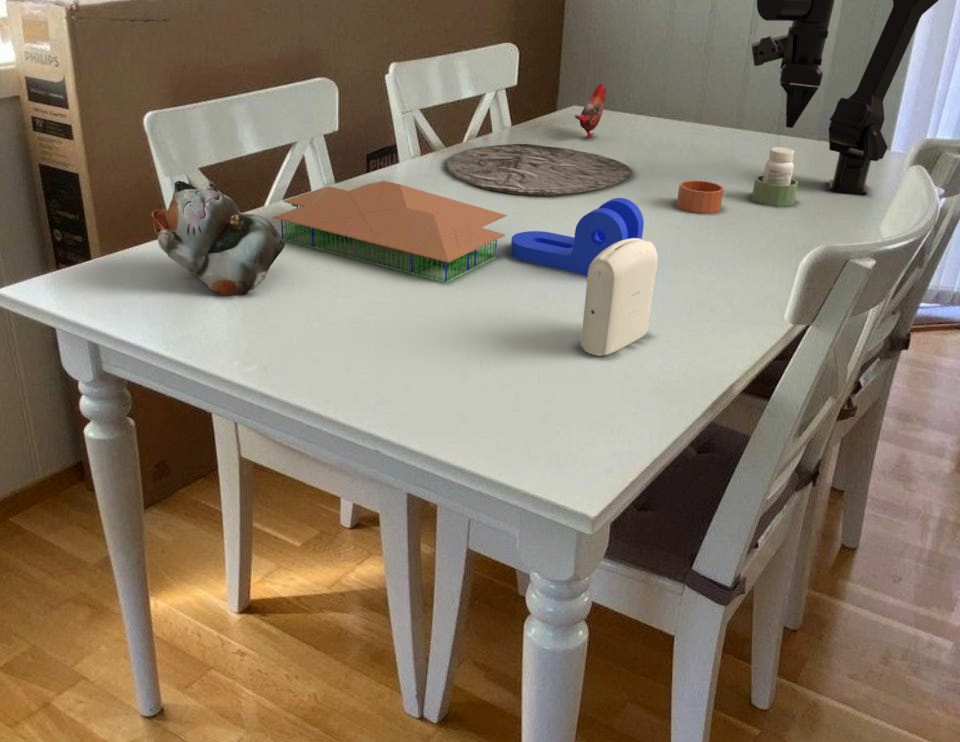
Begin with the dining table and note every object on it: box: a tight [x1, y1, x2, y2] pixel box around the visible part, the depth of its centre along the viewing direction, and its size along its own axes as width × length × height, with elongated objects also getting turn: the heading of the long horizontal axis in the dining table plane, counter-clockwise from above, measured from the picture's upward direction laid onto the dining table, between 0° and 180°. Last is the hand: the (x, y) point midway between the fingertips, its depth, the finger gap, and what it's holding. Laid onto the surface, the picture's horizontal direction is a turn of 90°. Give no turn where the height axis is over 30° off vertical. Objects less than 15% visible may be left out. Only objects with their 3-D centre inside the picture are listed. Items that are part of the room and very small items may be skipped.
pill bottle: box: [762, 146, 795, 185], centre depth 177 cm, size 5×5×8 cm
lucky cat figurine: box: [150, 180, 287, 297], centre depth 131 cm, size 15×12×14 cm
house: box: [272, 180, 507, 283], centre depth 149 cm, size 23×33×8 cm
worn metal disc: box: [445, 143, 632, 197], centre depth 189 cm, size 33×35×1 cm
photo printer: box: [580, 238, 659, 357], centre depth 119 cm, size 10×4×12 cm, turn 140°
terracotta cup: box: [676, 179, 725, 214], centre depth 172 cm, size 7×7×4 cm
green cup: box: [751, 174, 799, 207], centre depth 178 cm, size 7×7×4 cm
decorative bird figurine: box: [574, 83, 607, 140], centre depth 209 cm, size 3×18×10 cm, turn 156°
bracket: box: [510, 197, 645, 276], centre depth 145 cm, size 18×8×9 cm, turn 62°
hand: (789, 122), depth 172 cm, fingers open, 9 cm apart
